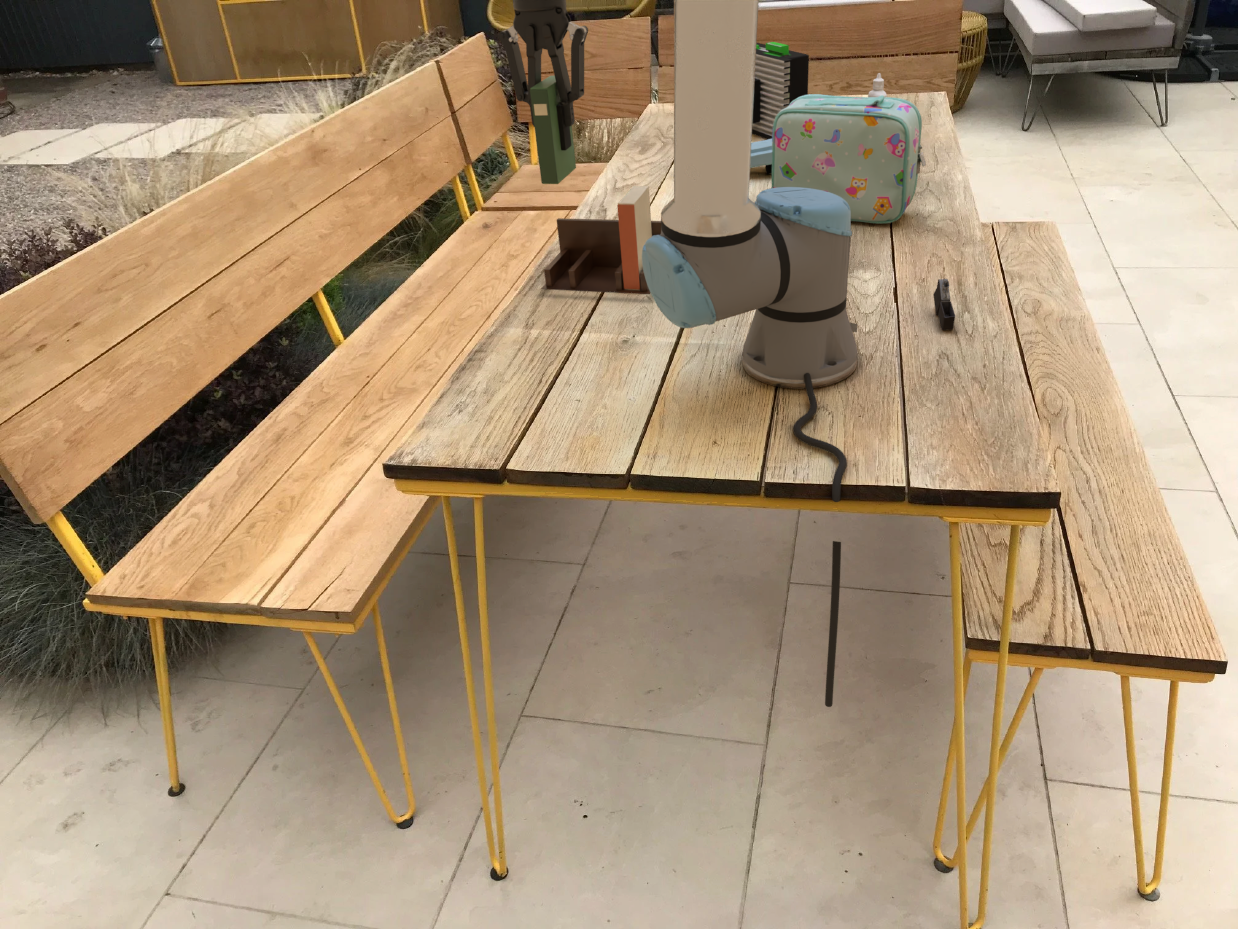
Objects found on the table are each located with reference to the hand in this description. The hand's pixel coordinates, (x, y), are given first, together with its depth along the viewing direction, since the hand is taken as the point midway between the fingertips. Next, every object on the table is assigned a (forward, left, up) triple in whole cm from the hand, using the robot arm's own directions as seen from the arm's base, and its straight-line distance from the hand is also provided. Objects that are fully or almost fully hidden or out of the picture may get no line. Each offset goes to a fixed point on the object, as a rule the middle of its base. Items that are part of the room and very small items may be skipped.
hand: (556, 147), depth 146 cm
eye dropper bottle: (+98, -42, -23) cm, 109 cm away
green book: (0, 0, -4) cm, 4 cm away
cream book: (0, -12, -21) cm, 24 cm away
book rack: (0, -6, -22) cm, 23 cm away
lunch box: (+37, -41, -23) cm, 60 cm away
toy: (+62, -19, -23) cm, 69 cm away
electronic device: (+95, -15, -23) cm, 99 cm away
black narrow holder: (-6, -59, -23) cm, 64 cm away
